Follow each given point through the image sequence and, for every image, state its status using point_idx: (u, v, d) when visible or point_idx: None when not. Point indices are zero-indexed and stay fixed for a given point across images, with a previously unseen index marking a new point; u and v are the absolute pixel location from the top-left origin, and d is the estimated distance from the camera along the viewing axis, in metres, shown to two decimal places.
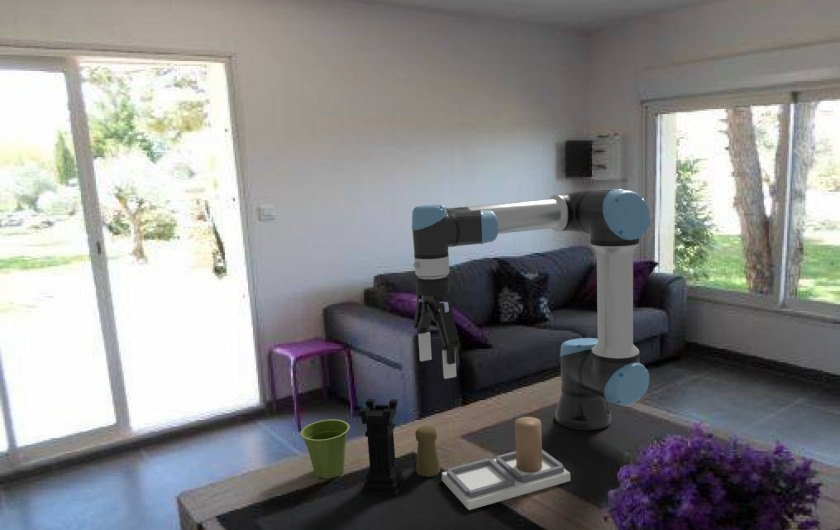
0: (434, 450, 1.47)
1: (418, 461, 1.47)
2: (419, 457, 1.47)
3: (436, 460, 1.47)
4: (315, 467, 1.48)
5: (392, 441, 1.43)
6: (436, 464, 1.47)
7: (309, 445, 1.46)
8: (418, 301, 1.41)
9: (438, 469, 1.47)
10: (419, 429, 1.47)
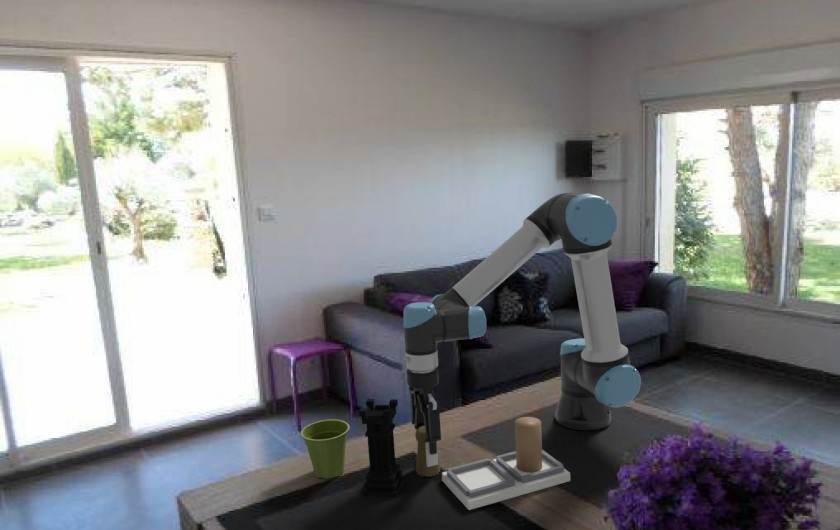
0: None
1: (418, 461, 1.47)
2: (419, 457, 1.47)
3: None
4: (315, 467, 1.48)
5: (392, 441, 1.43)
6: None
7: (309, 445, 1.46)
8: (411, 394, 1.51)
9: (438, 469, 1.47)
10: (419, 429, 1.47)
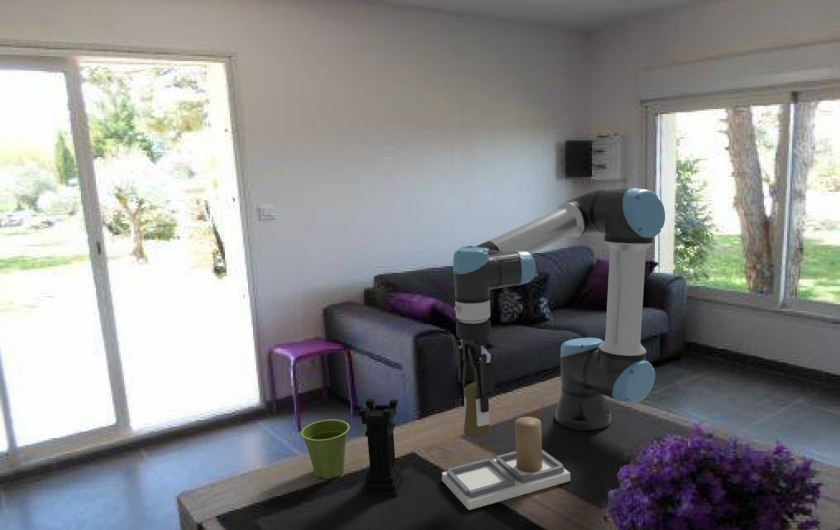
0: None
1: (467, 421, 1.36)
2: (468, 416, 1.35)
3: None
4: (315, 467, 1.48)
5: (392, 441, 1.43)
6: None
7: (309, 445, 1.46)
8: (458, 349, 1.39)
9: (488, 430, 1.36)
10: (468, 386, 1.36)
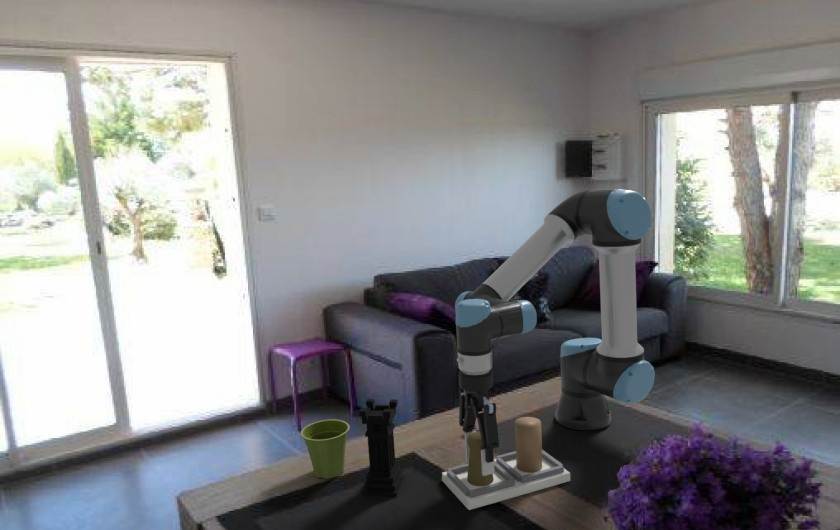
0: None
1: (470, 469, 1.38)
2: (471, 465, 1.37)
3: None
4: (315, 467, 1.48)
5: (392, 441, 1.43)
6: None
7: (309, 445, 1.46)
8: (460, 395, 1.41)
9: (491, 478, 1.38)
10: (471, 435, 1.38)
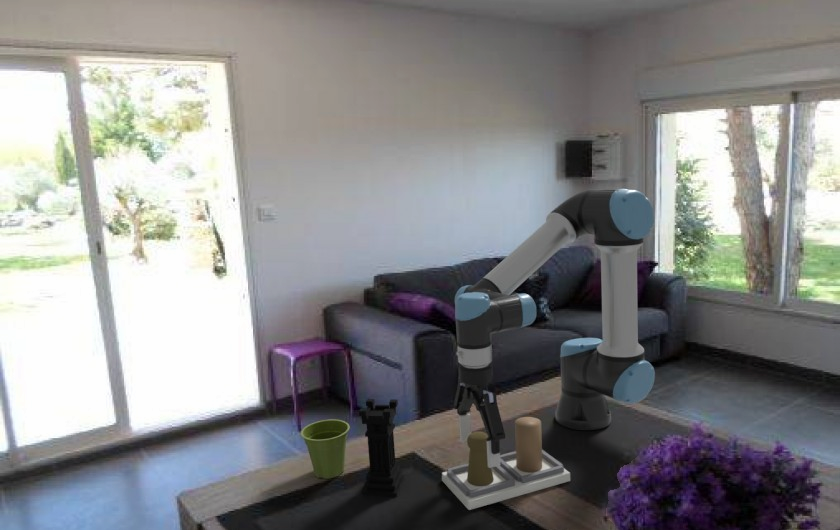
0: None
1: (470, 469, 1.38)
2: (471, 465, 1.37)
3: (489, 468, 1.38)
4: (315, 467, 1.48)
5: (392, 441, 1.43)
6: (489, 473, 1.38)
7: (309, 445, 1.46)
8: (459, 384, 1.42)
9: (491, 478, 1.38)
10: (471, 435, 1.38)
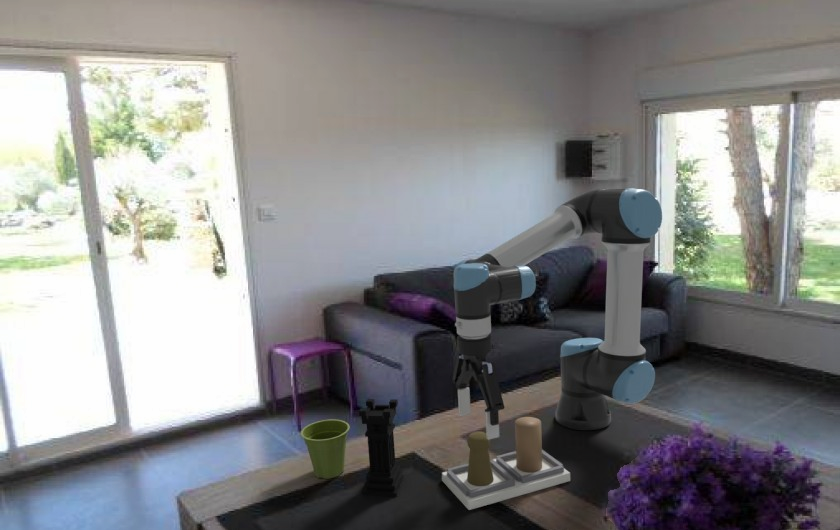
0: (487, 458, 1.37)
1: (470, 469, 1.38)
2: (471, 465, 1.37)
3: (489, 468, 1.38)
4: (315, 467, 1.48)
5: (392, 441, 1.43)
6: (489, 473, 1.38)
7: (309, 445, 1.46)
8: (458, 357, 1.40)
9: (491, 478, 1.38)
10: (471, 435, 1.38)
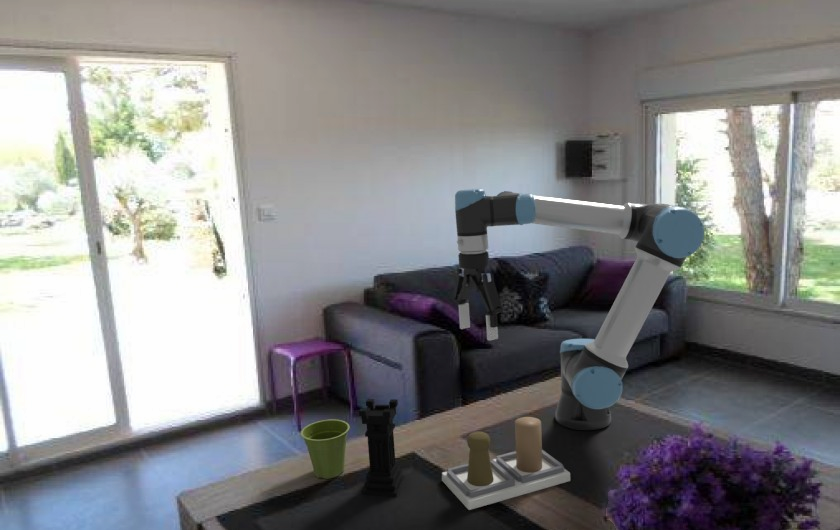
0: (487, 458, 1.37)
1: (470, 469, 1.38)
2: (471, 465, 1.37)
3: (489, 468, 1.38)
4: (315, 467, 1.48)
5: (392, 441, 1.43)
6: (489, 473, 1.38)
7: (309, 445, 1.46)
8: (458, 275, 1.59)
9: (491, 478, 1.38)
10: (471, 435, 1.38)
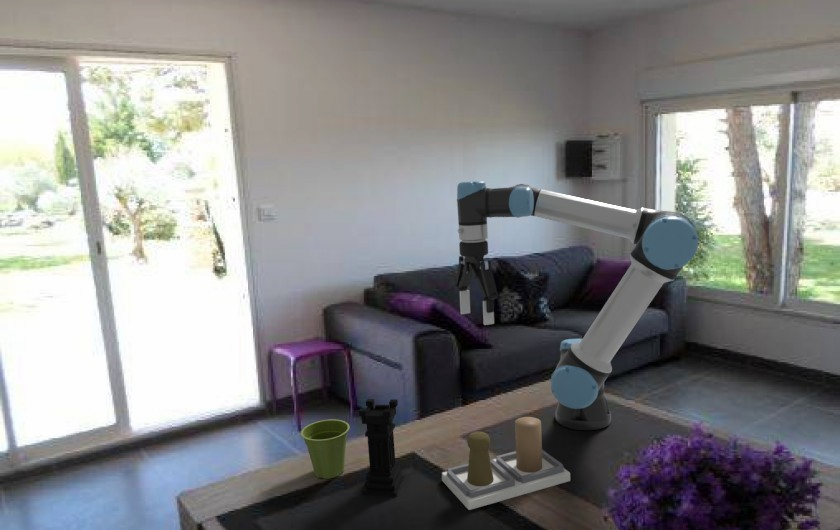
0: (487, 458, 1.37)
1: (470, 469, 1.38)
2: (471, 465, 1.37)
3: (489, 468, 1.38)
4: (315, 467, 1.48)
5: (392, 441, 1.43)
6: (489, 473, 1.38)
7: (309, 445, 1.46)
8: (460, 263, 1.68)
9: (491, 478, 1.38)
10: (471, 435, 1.38)
